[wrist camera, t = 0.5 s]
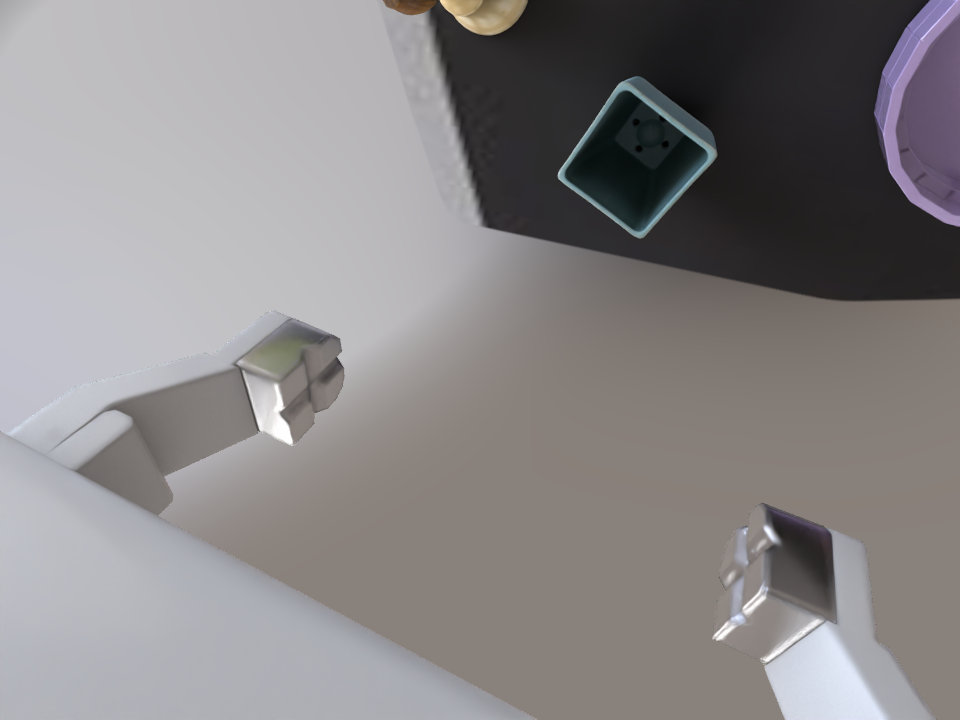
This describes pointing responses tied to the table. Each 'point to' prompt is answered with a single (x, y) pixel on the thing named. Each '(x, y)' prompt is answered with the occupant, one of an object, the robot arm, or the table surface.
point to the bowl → (924, 111)
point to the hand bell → (469, 12)
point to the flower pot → (638, 156)
